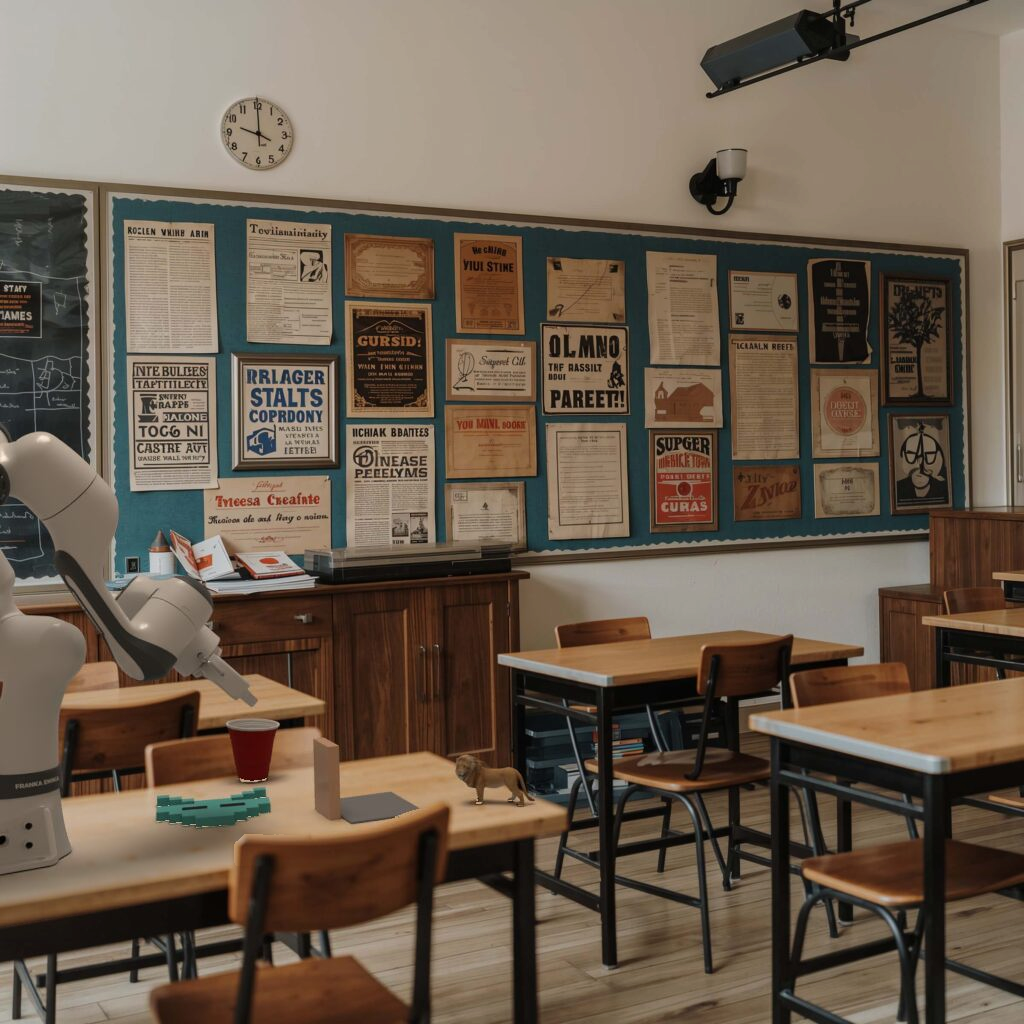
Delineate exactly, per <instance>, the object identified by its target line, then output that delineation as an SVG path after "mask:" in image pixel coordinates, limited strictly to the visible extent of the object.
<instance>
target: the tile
mask: <svg viewBox="0 0 1024 1024" xmlns="http://www.w3.org/2000/svg"><path fill="white" fill-rule="evenodd" d="M312 741H313V743H312V744H313V779H314V780H313V785H314V788H313V789H314V810H315V811H316V812H317V813H320V815H322V816H323V817H325V818H326V819H327V820H329V821H336V820H337V821H338V820H341V819H342V817H341V811H340V798H341V780H340V778H341V777H340V775H341V773H340V772H341V771H340V746H339V745H338V744H336V743H335V742H333V741H331V740H329V739H328V738H325V737H317V738H313V740H312Z"/></svg>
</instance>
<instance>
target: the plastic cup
mask: <svg viewBox="0 0 1024 1024" xmlns="http://www.w3.org/2000/svg"><path fill="white" fill-rule="evenodd" d="M280 725H281V724H280V722H278V721H275V720H273V719H266V718H237V719H232V720H228V721H226V722H225V726H226V727H227V731H228V734H229V739H230V742H231V750H232V754H233V755H232V756H233V761H234V765H235V767H236V768H235V769H236V774H237V778H238V779H239V778H241V779H244V780H250V781H254V780H262V779H265V778H267V777H269V773H270V766H271V761H272V756H273V749H274V743H275V738H276V733H277V730H278V728H279V727H280ZM267 779H268V778H267Z"/></svg>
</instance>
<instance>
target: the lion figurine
mask: <svg viewBox="0 0 1024 1024" xmlns="http://www.w3.org/2000/svg"><path fill="white" fill-rule="evenodd" d="M455 761H456V763H455V775H456V776H457V778H458V779H459V780H460V781H462V782H464V783H465V784H466V786H467V787H469V788H470V789H475V790H476V795H477V799H478V801H476V800H475V802H483V803H484V792H485V788H488V789H499V788H501V787H503V786H504V785H505V786H506V788H507V789H508V791H510V792H511V794H512V795H511V797H509V798H508V799H507V801H508V800H512V801H513V800H516V798H518V800H519V801H518V802H516V805H517V804H518V805H523V806H524V805H525V798H526V799H527V801H530V802H536V800H535V798H533V797H531V796H530V795H529V793H528V792H527V789H526V785H525V781H524V778H523V776H522V774H521V773H520V772H519V771H518V770H517V769H515V768H513V767H509V766H507V767H503V768H492V767H491V766H489V765H488V764H487V763H486V762H485V761H483V760H480V759H478V757H475V756H473V755H469V754H462V755H460V756H458V758H455ZM519 782H520V785H521V787H522V791H523V792H522V791H521V790H520V789H519V785H518V784H519ZM524 796H525V797H524ZM532 798H533V799H532Z"/></svg>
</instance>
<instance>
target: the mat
mask: <svg viewBox="0 0 1024 1024" xmlns="http://www.w3.org/2000/svg"><path fill="white" fill-rule="evenodd" d="M419 808H420V807H418V806H417V805H415V804H413V803H411V802H409V801H408V800H406V799H405V798H403V797H402V796H400V795H398V794H396V793H394V792H393V791H386V792H377V793H371V794H370V793H369V794H363V795H353V796H346V797H340V811H341V819H343V820H345V821H346V822H348V823H349V824H350V825H355V824H361V823H368V822H375V821H383V820H388V819H387V818H391V817H395V816H398V815H401V814H403V813H406V812H409V811H412V810H416V809H419ZM391 819H392V818H391Z"/></svg>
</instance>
